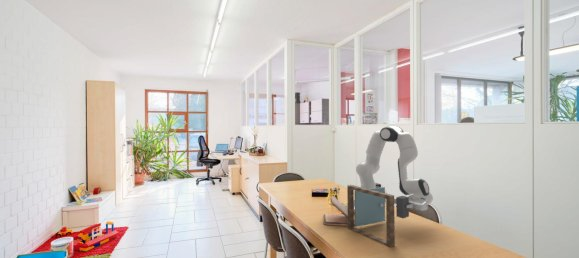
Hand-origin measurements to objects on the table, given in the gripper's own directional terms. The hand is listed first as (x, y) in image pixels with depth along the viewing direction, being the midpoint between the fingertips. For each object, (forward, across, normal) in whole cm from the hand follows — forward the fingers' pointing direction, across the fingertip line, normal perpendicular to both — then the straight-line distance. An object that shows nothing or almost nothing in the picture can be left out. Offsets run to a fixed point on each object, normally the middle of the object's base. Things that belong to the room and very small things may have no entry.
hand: (401, 205), depth 163 cm
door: (+7, -18, +15) cm, 24 cm away
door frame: (+21, -8, +17) cm, 28 cm away
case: (+17, -38, +18) cm, 45 cm away
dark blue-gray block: (-1, 0, +7) cm, 7 cm away
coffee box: (-37, -51, +17) cm, 65 cm away
